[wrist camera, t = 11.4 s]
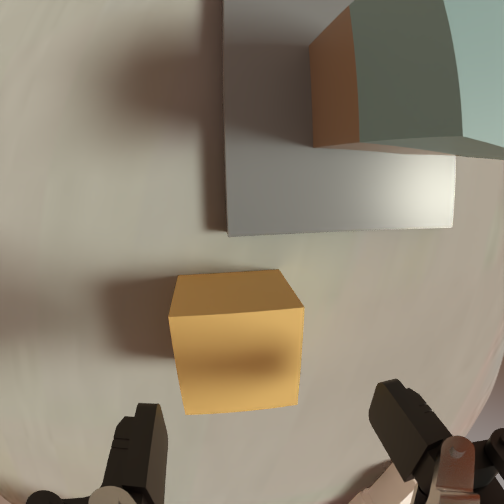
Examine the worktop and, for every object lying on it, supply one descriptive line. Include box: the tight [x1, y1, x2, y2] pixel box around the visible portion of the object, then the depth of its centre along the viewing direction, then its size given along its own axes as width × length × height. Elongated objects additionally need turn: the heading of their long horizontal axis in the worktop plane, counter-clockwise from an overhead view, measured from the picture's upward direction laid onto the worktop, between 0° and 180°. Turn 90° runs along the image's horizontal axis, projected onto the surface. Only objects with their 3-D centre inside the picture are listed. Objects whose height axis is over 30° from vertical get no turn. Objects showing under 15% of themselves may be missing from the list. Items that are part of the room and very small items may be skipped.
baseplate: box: [222, 0, 459, 237], centre depth 12 cm, size 14×14×6 cm
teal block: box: [349, 0, 504, 160], centre depth 7 cm, size 6×6×5 cm
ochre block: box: [168, 269, 304, 415], centre depth 15 cm, size 6×6×5 cm
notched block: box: [348, 463, 417, 504], centre depth 24 cm, size 15×11×6 cm
